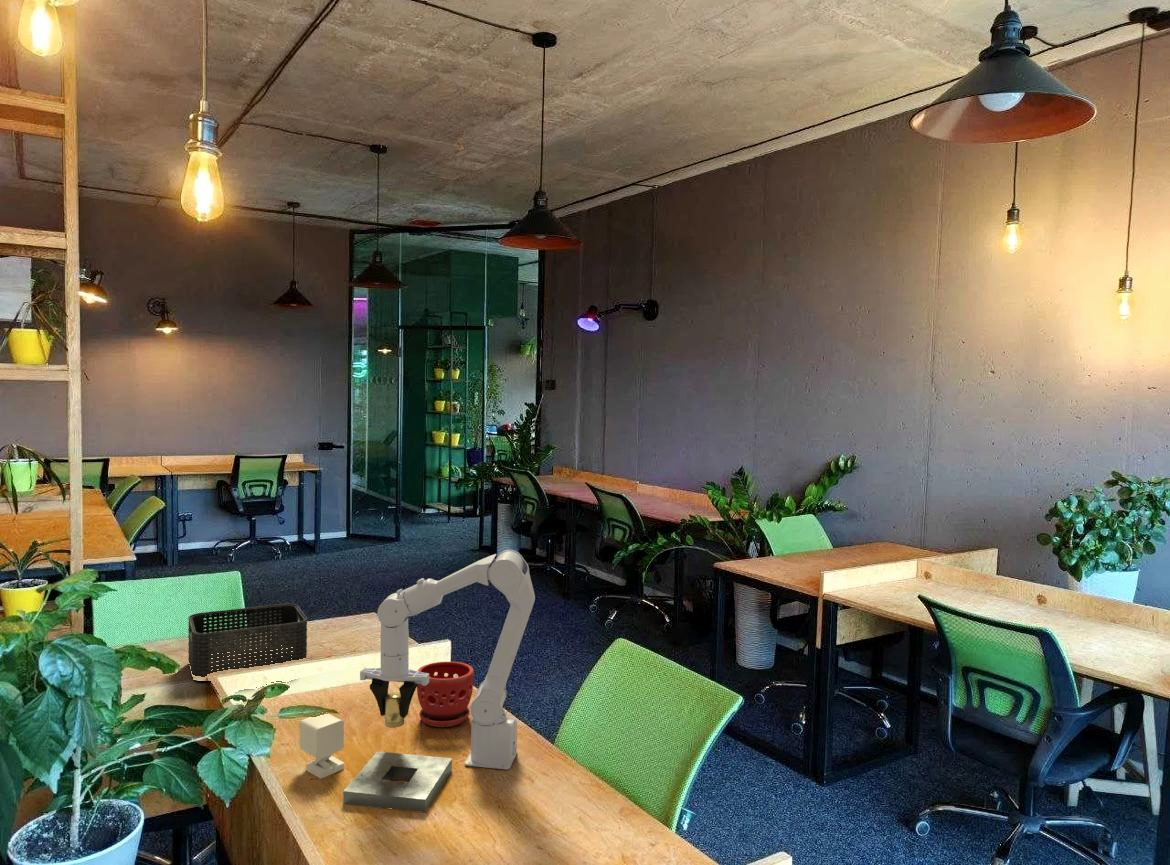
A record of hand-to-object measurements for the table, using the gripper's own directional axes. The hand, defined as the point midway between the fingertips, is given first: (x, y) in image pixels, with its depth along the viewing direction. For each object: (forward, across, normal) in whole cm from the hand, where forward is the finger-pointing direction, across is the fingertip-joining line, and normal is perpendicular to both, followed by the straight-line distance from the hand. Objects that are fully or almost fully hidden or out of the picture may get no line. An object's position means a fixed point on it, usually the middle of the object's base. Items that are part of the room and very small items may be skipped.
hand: (394, 714), depth 169 cm
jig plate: (+9, -6, +12) cm, 16 cm away
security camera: (+9, +12, +8) cm, 17 cm away
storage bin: (+9, +59, -41) cm, 72 cm away
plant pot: (+9, -5, -19) cm, 22 cm away
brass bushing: (+2, 0, 0) cm, 2 cm away
